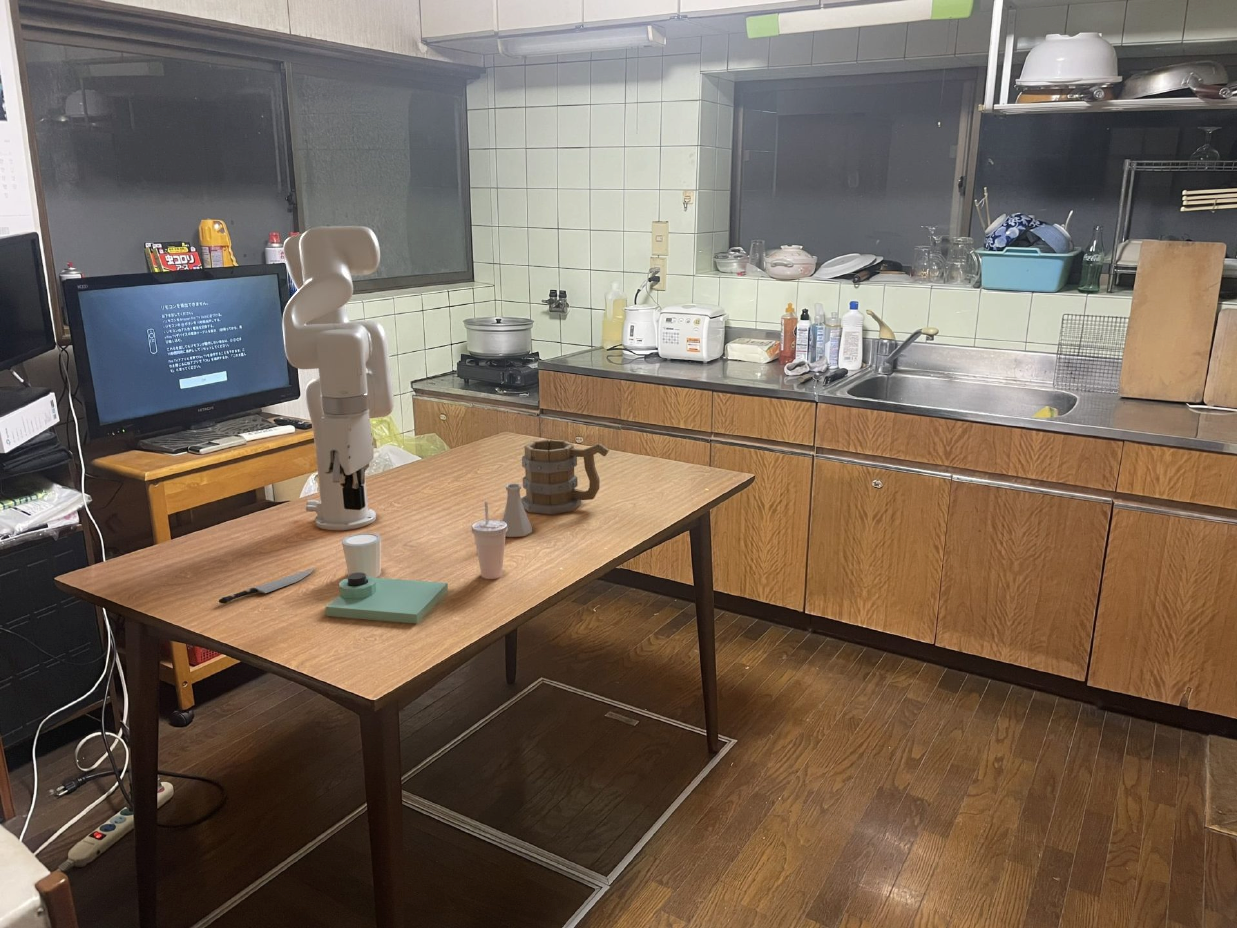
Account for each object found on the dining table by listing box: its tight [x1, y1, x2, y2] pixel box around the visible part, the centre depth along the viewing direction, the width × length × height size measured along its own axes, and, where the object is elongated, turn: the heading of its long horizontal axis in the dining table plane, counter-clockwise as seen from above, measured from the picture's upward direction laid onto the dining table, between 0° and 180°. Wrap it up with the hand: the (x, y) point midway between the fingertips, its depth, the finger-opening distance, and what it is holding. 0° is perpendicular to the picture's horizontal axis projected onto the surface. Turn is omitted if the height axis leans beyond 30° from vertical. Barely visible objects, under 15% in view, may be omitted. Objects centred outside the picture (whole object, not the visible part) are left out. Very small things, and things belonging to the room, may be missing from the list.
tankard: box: [521, 439, 610, 516], centre depth 202 cm, size 20×13×15 cm, turn 71°
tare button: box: [347, 573, 367, 587], centre depth 154 cm, size 3×3×2 cm
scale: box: [325, 576, 449, 625], centre depth 154 cm, size 16×13×4 cm
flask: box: [500, 483, 533, 538], centre depth 187 cm, size 7×7×10 cm
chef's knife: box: [218, 568, 314, 604], centre depth 161 cm, size 19×1×3 cm
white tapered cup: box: [341, 532, 382, 578], centre depth 166 cm, size 7×7×7 cm
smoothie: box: [471, 500, 508, 580], centre depth 164 cm, size 6×6×14 cm
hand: (354, 507), depth 158 cm, fingers closed
